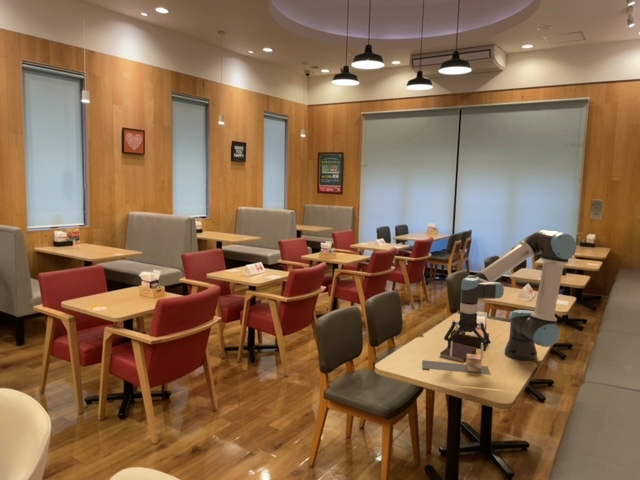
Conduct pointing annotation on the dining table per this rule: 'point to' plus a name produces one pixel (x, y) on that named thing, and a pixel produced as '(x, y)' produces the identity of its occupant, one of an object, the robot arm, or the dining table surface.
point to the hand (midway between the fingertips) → (466, 356)
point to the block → (473, 362)
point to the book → (458, 352)
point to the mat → (452, 367)
